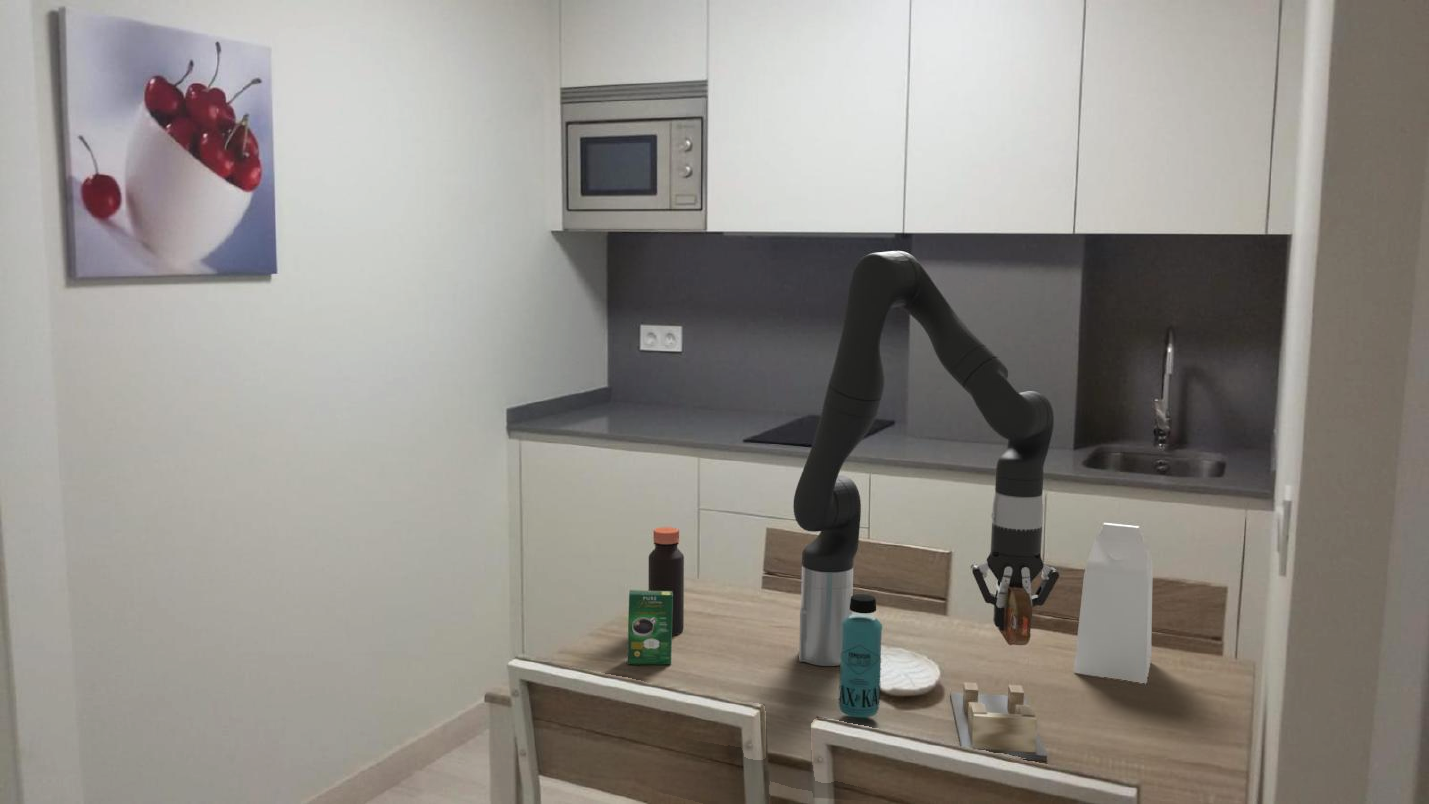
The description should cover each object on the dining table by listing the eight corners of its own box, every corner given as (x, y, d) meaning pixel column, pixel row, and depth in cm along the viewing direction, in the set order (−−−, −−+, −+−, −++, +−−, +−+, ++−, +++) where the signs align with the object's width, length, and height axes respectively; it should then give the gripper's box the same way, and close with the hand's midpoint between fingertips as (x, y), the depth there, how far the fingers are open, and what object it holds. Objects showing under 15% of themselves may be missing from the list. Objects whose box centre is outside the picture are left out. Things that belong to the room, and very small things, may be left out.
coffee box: (672, 659, 201) (673, 589, 199) (672, 665, 198) (673, 594, 196) (627, 659, 200) (627, 589, 199) (627, 665, 198) (627, 594, 196)
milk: (1150, 662, 202) (1159, 521, 198) (1146, 684, 191) (1155, 536, 188) (1081, 651, 207) (1089, 514, 203) (1073, 672, 196) (1081, 528, 193)
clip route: (962, 755, 163) (964, 718, 163) (950, 696, 185) (951, 663, 184) (1046, 761, 162) (1048, 722, 161) (1024, 701, 183) (1025, 667, 183)
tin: (992, 620, 182) (993, 570, 180) (1012, 620, 181) (1012, 570, 180) (1013, 653, 167) (1013, 599, 166) (1034, 653, 167) (1035, 599, 165)
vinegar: (690, 629, 217) (690, 529, 214) (670, 639, 211) (670, 536, 209) (661, 622, 221) (662, 524, 218) (641, 632, 215) (641, 531, 212)
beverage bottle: (834, 710, 179) (837, 590, 176) (875, 709, 179) (878, 589, 177) (842, 728, 172) (845, 603, 170) (884, 726, 173) (888, 602, 170)
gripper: (974, 525, 169) (969, 635, 171) (1068, 529, 167) (1062, 640, 170) (967, 514, 176) (962, 619, 178) (1058, 517, 175) (1052, 623, 177)
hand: (1011, 629), depth 174 cm, fingers closed on tin, 2 cm apart
